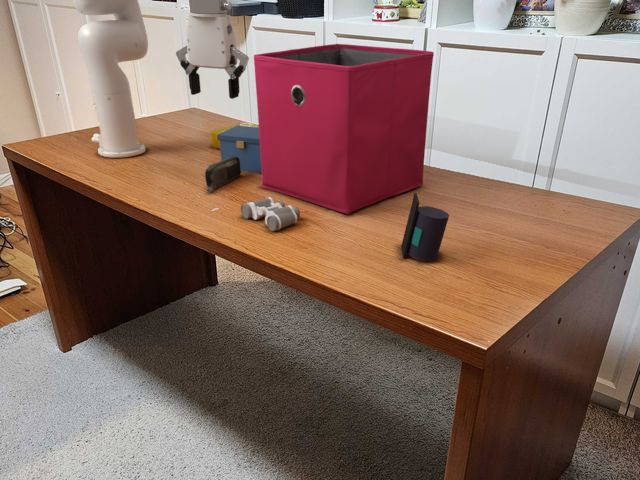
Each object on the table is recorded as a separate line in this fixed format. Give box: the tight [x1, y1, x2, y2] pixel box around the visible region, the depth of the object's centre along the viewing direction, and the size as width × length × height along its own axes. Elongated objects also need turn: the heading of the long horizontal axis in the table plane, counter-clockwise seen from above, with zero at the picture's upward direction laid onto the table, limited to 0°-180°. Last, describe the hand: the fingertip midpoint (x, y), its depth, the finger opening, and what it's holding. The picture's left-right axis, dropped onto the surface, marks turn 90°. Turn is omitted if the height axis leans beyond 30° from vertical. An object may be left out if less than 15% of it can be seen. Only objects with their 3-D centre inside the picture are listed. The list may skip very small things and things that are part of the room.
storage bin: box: [253, 43, 435, 215], centre depth 131 cm, size 28×29×28 cm
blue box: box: [217, 126, 262, 174], centre depth 150 cm, size 13×11×8 cm
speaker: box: [400, 192, 450, 262], centre depth 104 cm, size 8×6×10 cm
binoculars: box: [240, 196, 301, 232], centre depth 120 cm, size 12×8×4 cm, turn 41°
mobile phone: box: [204, 156, 242, 193], centre depth 139 cm, size 5×3×15 cm
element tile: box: [210, 122, 259, 150], centre depth 168 cm, size 15×15×5 cm
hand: (214, 95), depth 133 cm, fingers open, 9 cm apart
